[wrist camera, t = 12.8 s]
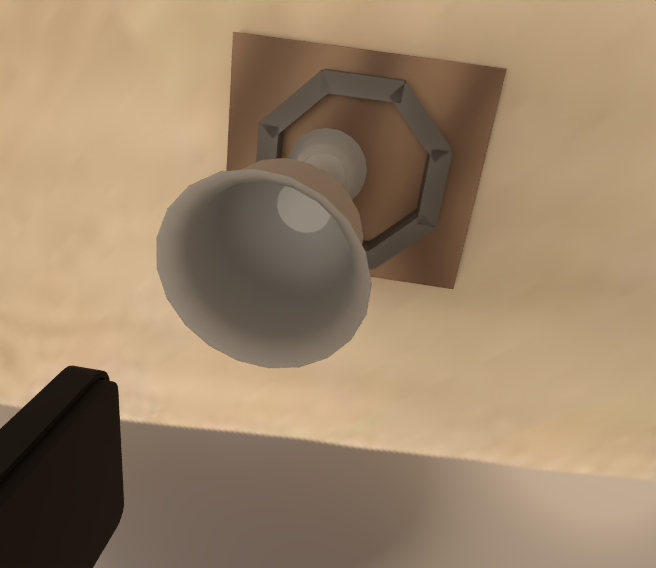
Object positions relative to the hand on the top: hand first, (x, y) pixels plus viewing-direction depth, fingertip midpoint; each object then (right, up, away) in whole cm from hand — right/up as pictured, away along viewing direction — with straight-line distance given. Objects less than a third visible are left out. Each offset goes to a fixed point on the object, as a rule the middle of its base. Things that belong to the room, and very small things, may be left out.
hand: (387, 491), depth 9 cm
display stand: (+1, +11, +26) cm, 29 cm away
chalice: (-1, +11, +25) cm, 28 cm away
